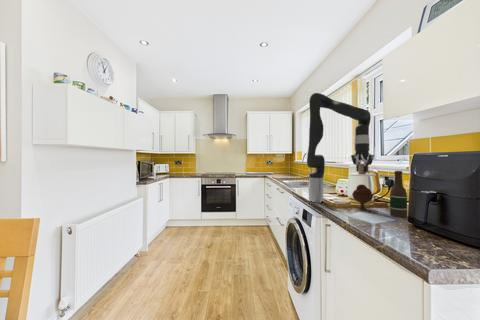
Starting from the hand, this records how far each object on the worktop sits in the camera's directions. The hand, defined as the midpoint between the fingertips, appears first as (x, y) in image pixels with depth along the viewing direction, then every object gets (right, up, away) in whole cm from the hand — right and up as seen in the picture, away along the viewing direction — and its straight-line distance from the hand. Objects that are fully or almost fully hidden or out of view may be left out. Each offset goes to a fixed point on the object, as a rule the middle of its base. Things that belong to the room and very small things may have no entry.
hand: (362, 171), depth 130 cm
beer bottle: (+11, -23, -15) cm, 29 cm away
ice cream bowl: (0, -23, 0) cm, 23 cm away
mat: (-7, -23, -18) cm, 30 cm away
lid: (0, -2, 0) cm, 2 cm away
